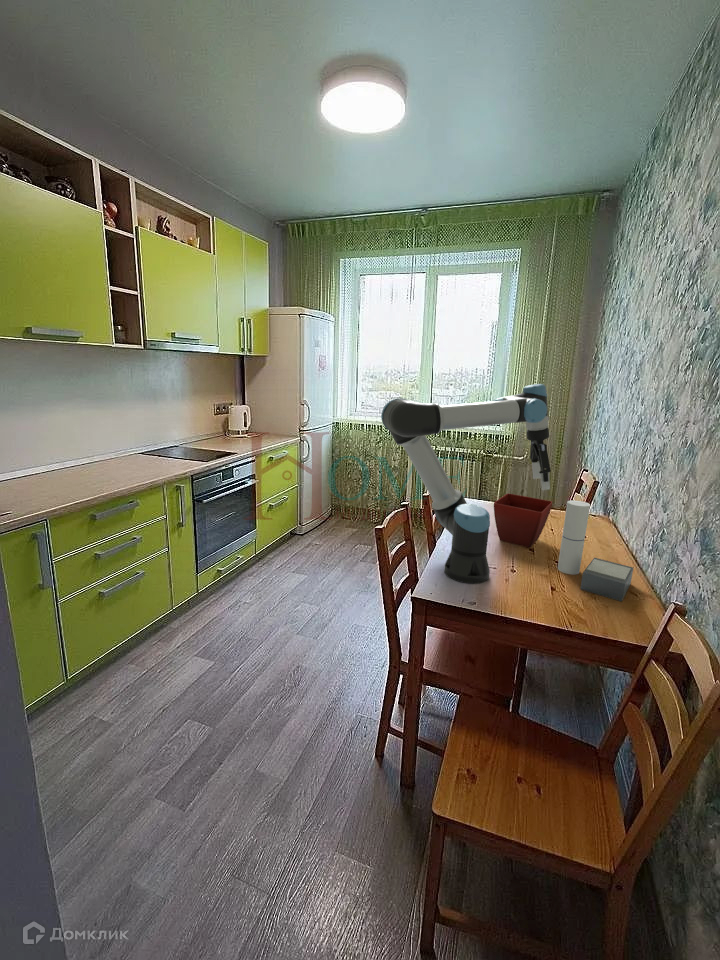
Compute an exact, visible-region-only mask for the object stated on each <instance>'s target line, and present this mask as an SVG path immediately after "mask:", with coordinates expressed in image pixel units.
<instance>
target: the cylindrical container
mask: <svg viewBox="0 0 720 960" xmlns="http://www.w3.org/2000/svg"><path fill="white" fill-rule="evenodd" d="M590 507H591V504H590V503H589V502H587V501H583V500H574V499H573V500H567V502H566V509H565V513H564V514H565V515H564V516H565V517H564V522H563V527H562V528H563V529H562V536H561V542H560V549H559V555H558V563H557V570H558V571H560V572H561V573H563V574H566V575H572V576H574V575H578V574H580V571H581V570H580V569H581V565H582V558H583V552H584V546H585V539H586V532H587V527H588V520H589V515H590V509H591V508H590Z"/></svg>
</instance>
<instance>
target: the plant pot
mask: <svg viewBox="0 0 720 960" xmlns="http://www.w3.org/2000/svg"><path fill="white" fill-rule="evenodd" d="M552 506H553V501H551V500H546V499H542V498H535V497H530V496H525V495H519V494H514V493H506V494H504V495H502V496H501V497H500V498H498V499H497V500H495V501H494V502H493V513H494V514H493V515H494V521H495V527H496V531H497V536H498V539H499V541H501V542H502V543H503V542H504V543H508V544H512V545H516V546H519V547H520V546H521V547H524V548H532V547H533V545H535V543H536V542H537V541H538V540H539V539H540V538H539V537H540V536H541V534H542V532H543V530H544V527H545V526H546V524H547V520H548V517H549V515H550V513H551V509H552V508H553V507H552Z"/></svg>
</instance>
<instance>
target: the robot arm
mask: <svg viewBox="0 0 720 960" xmlns="http://www.w3.org/2000/svg"><path fill="white" fill-rule="evenodd" d="M548 412H549V410H548V393H547V387H546V385H545V384H543V383H534V384H528V385H525V386H523V390H522V392H521V393H517V394H512V395H506V396H500V397H498V398H494V399H493V400H492V401H481V402H480V401H479V402H471V403H470V402H469V403H459V404H447V405H439V404H438V403H437V402H431V403H427V402H426V403H423V402H418V401H413V400H408V399H406V398H402V397H400V398H393V399H391V400H389V401H388V402H387V403H386V404H384V407H383V408H382V410H381V416H380V417H381V421H382V425H383V427H384V428H385V429H386V430H388V432H389V433H390V435H391V437H392V438H393V440H394V442H395V443H396V445H397V446H401V447H402V448H403V449H404V451H405V452H406V454H407V457H408V458H409V460H410V461H411V463H412V465H413V467H414V469H415V471H416V472H417V474H418V476H419V478H420V479H421V482H422V483H423V485H424V487H425V488H426V490H427V492H428V493H429V496H430V497H431V499H432V503H431V508H432V509H433V511H434V515H435V519H436V520H437V522H438V523H439V524H440V525H441V526H442V527H443V528H444V529H445V530H447V531H448V532H449V533H450V534H451V536H452V537H451V539H452V540H451V550H450V553H449V555H448V556H447V559H446V561H445V564H444V569H443V570H444V571H443V572H444V574H445V576H447V577H448V578H450V579H451V580H454V581H457V582H461V583H466V584H480V583H485V582H487V581H488V580H489V579H490V566H489V561H488V557H487V549H488V540H489V531H490V525H491V518H490V517H491V516H490V513H489V511H488V510H487V509H485V508H484V507H482V506H480V505H479V506H478V505H477V504H472V503H467V500H466V499H465V497H464V495H463V493H462V492H461V490H459V489H455V488H454V485H453V484H452V482H451V480H450V478H449V477H448V475H447V473H446V471H445V469H444V467H443V466H442V464H441V462H440V460H439V458H438V456H437V454H436V452H435V450H434V448H433V447H432V444H431V443H430V441H429V439H428V437H427V436H430V435H439V433H440V432H441V431H445V430H446V431H447V430H456V429H467V428H475V427H485V426H493V425H494V426H495V425H506V424H516V423H525V428H526V439H527V440H528V441H530V455H529V459H530V460H531V461H530V462H531V467H532V479H533V480H537V479H538V480H539V479H540V486H541V491H548V490H551V482H550V481H551V480H550V473H551V471H552V470H551V466H550V459H549V455H548V446H547V444H546V443H544V441H545V440H548V439H549V438H550V429H549V427H548V426H549V420H550V417H549V414H548Z"/></svg>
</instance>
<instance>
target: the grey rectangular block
mask: <svg viewBox="0 0 720 960" xmlns="http://www.w3.org/2000/svg"><path fill="white" fill-rule="evenodd" d="M633 573H634V566H629V565H624V564H622V563H621V564H620V563H618V562H614V561H608V560H605V559H601V558H598V557H593V559H592V560H591V561H590V562H589V564H588V565H587V566H586V568H585V569H584V571H583V572H582V576H581V582H580V587H579V588H580V590H581V591H585V592H589V593H590V594H591V593H592V594H595V595H599V596H601V597H605V598H609V599H612V600H615V601H619V602H620V603H621V602H622V603H623V600H624V598H625V596H626V594H627V593H628V590H629V588H630V586H631V583H632V579H633Z"/></svg>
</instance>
